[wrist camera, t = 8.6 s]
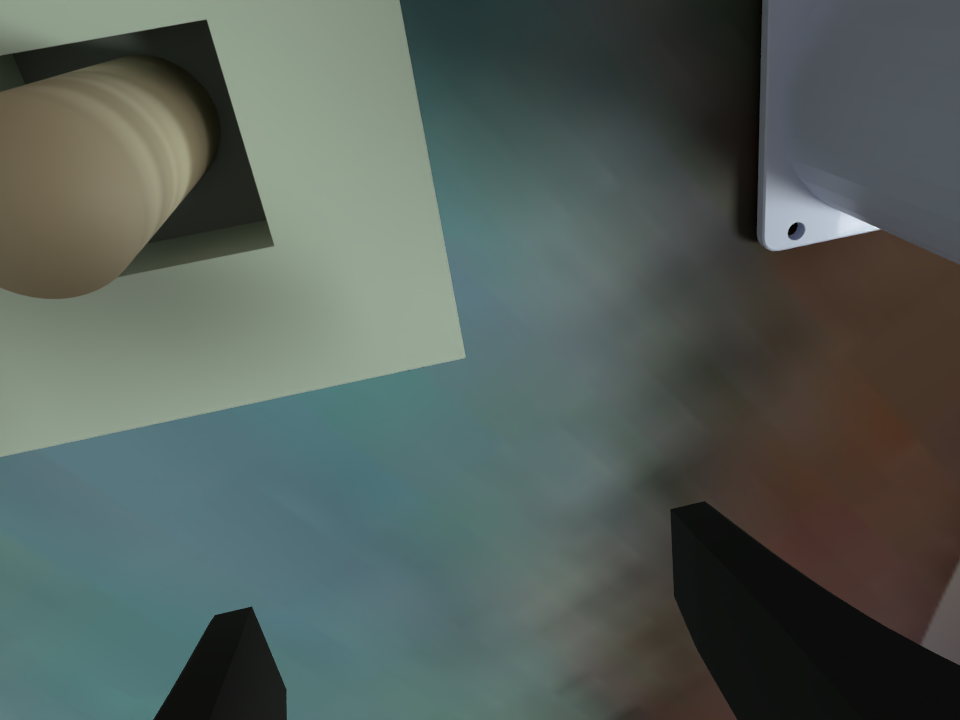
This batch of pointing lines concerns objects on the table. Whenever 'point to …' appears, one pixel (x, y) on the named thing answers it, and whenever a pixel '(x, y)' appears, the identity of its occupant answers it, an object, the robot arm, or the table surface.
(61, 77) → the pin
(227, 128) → the block
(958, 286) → the table surface
